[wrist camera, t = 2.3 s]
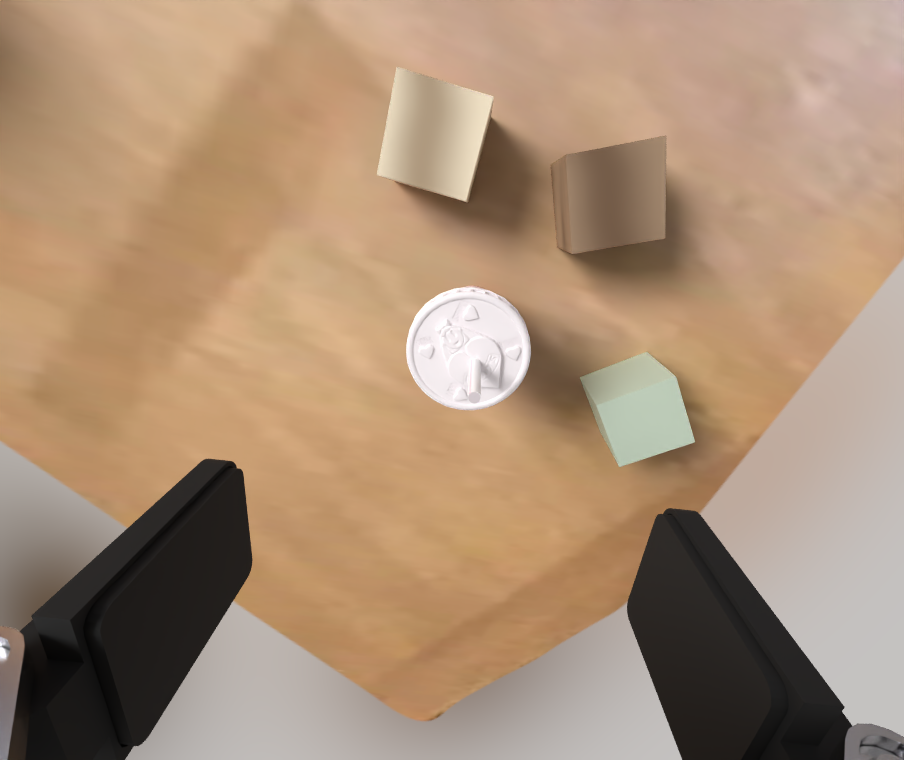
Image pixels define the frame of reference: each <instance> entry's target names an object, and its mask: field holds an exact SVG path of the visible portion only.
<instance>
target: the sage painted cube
mask: <svg viewBox="0 0 904 760" xmlns="http://www.w3.org/2000/svg"><path fill="white" fill-rule="evenodd" d="M580 380H581V382H582V385H583V388H584V390H585V393H586V396H587V398H588V401H589V404H590V406H591V409H592V412H593V414H594V417H595V419H596V422H597V425H598V427H599V430H600V432H601V434H602V436H603V438H604V440H605V442H606V443H607V445H608V447H609V449H610V451H611V453H612V455H613V456H614V458H615V460H616V462H617V464H618V466H619V467H621V466H624V465H627V464H630V463H633V462H636V461H639V460H642V459H645V458H648V457H652V456H655V455H658V454H661V453H664V452H667V451H670V450H673V449H676V448H679V447H682V446H685V445H688V444H691V443H694V442H695V440H694V436H693V433H692V430H691V426H690V423H689V419H688V416H687V413H686V409H685V406H684V402H683V399H682V396H681V392H680V389H679V386H678V382H677V379H676V376H675V375H673V374H672V373H671V372H670V371H669V370H668V369H666V368H665V367H664V366H663V365H662V364H660V363H659V362H658V361H657V360H656V359H655V358H653V357H652V356H651V355H650V354H649V353H648V352H645V353H642V354H639V355H637V356H634V357H632V358H629V359H626V360H624V361H621V362H618V363H616V364H613V365H611V366H608V367H605V368H603V369H600V370H597V371H595V372H592V373H590V374H587V375H584V376H582V377H580Z"/></svg>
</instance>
